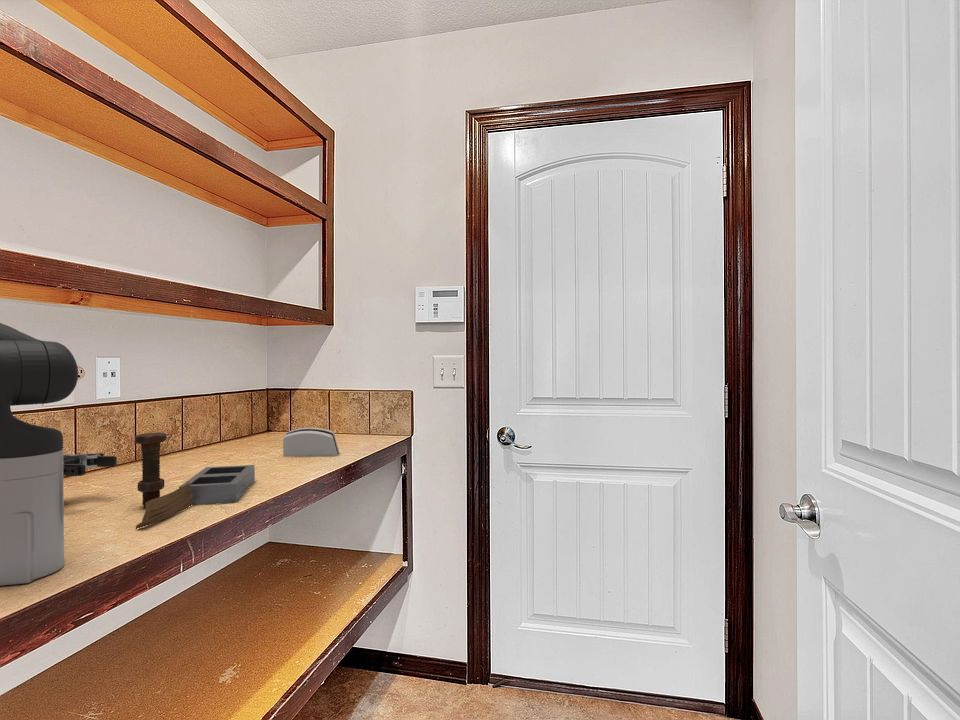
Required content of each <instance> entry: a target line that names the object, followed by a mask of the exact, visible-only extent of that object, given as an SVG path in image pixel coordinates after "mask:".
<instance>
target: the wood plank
mask: <svg viewBox="0 0 960 720" xmlns="http://www.w3.org/2000/svg"><path fill="white" fill-rule="evenodd" d="M192 497H193V495H192V494H191V485H190V483H187V484H186V485H185V486H183V487H181V488H179V487H178V488H177V489H176V490H174V491H171V492H169V493H167V494H165V495H160V497H158V498H155V499H152V500H150V501H148V502H146V503H145V504H146V506H145V507H146V508H145V507H144V508H145V510H144V515H143V517H142V519H141V522H139V523H138V524H137V525H135V530H136V529H137V528H139V529H140V527H141V528H143V526H145V527H147V526H150V524H151V525H154V524H153V523H155V524H156V522H157V523H159V522H158V521H160V522H161V520H162V521H164V520H167V519H169V518H168V517H170V518H172V517H174V516H176V515H177V514H179V513H181V512H180V511H182V510H184V509H186V508H187V509H189V508H190V507H189V506H191V505H192ZM192 506H193V505H192ZM192 506H191V507H192ZM188 507H189V508H188ZM187 509H186V510H187ZM184 511H185V510H184ZM178 512H179V513H178ZM182 512H183V511H182ZM176 513H177V514H176ZM175 514H176V515H175ZM173 515H174V516H173ZM171 516H172V517H171ZM166 518H167V519H166ZM146 525H147V526H146ZM137 530H138V529H137Z"/></svg>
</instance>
